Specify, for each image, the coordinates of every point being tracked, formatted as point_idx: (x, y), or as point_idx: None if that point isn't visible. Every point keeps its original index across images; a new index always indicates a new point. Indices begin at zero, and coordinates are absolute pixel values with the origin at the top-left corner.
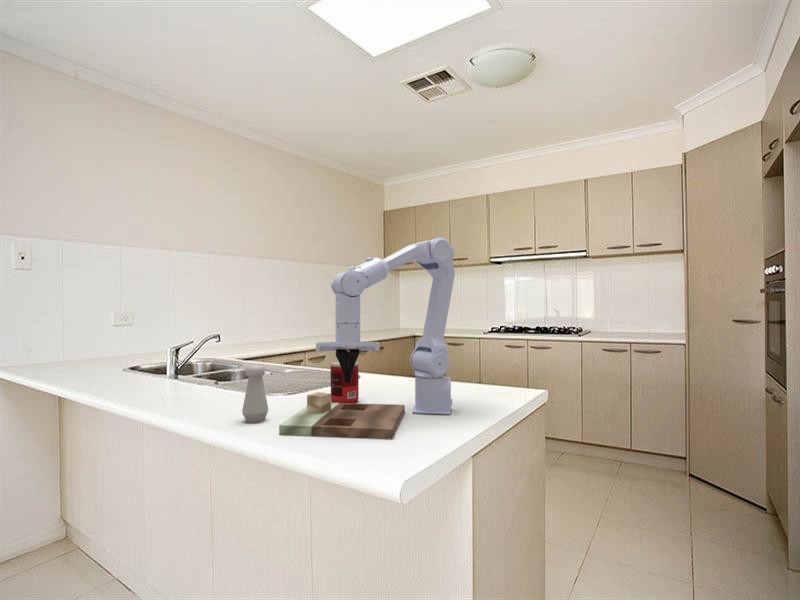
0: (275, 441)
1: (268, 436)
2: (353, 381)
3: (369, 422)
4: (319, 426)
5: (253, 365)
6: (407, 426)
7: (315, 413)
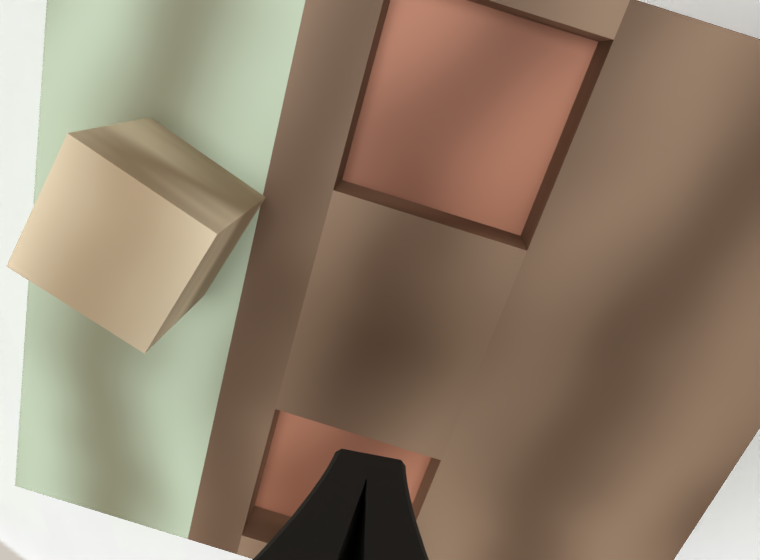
0: (63, 534)
1: (6, 463)
2: None
3: (509, 541)
4: (230, 548)
5: None
6: (757, 453)
7: None
